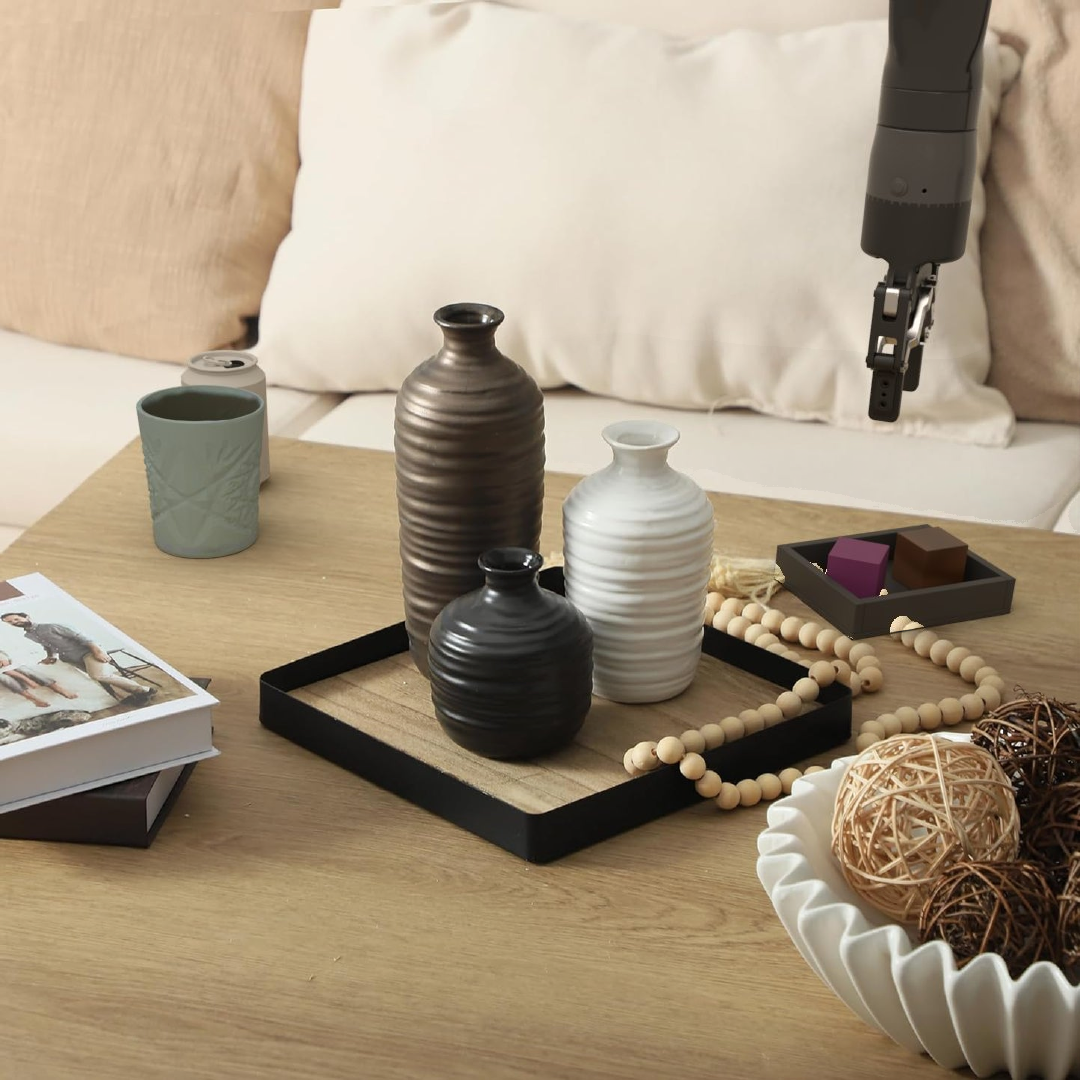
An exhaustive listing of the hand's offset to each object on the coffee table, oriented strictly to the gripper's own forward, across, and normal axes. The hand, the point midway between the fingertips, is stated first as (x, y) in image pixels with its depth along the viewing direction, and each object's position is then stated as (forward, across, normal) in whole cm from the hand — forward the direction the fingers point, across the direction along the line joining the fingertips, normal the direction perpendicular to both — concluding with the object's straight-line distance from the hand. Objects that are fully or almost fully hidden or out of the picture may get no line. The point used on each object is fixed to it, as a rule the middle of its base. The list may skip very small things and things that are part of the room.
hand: (893, 404), depth 113 cm
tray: (+16, -1, -2) cm, 16 cm away
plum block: (+15, -3, +1) cm, 15 cm away
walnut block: (+15, +2, -4) cm, 16 cm away
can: (+15, -4, +59) cm, 61 cm away
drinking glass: (+15, -15, +53) cm, 57 cm away
